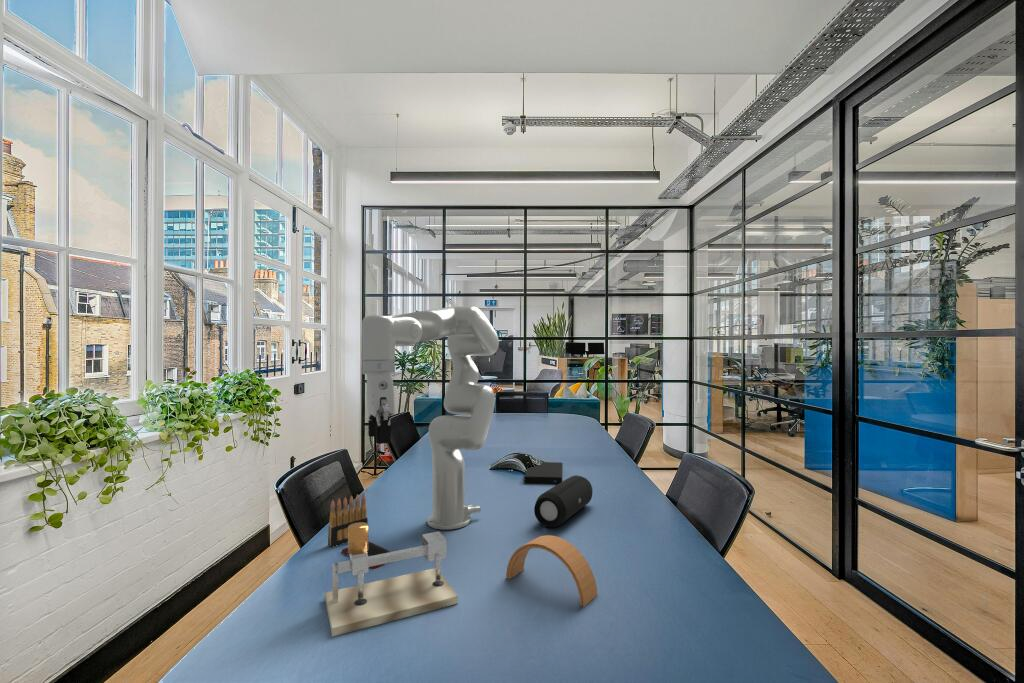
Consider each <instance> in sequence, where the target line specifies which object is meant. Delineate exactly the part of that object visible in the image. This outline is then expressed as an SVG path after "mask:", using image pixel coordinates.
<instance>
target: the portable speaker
mask: <svg viewBox="0 0 1024 683" xmlns="http://www.w3.org/2000/svg"><path fill="white" fill-rule="evenodd" d="M592 498H593V485H592V484H591V482H590V481H589V480H588V479H587V477H584V476H582V475H571V476H569V477H568V478H566V479H564V480H562V482H561V483H559V484H555V485H554V486H552V487H551V488H550V489H548V490H546V491H544V492H543V493H541V494H540V495H539V496H538V498H536V501H535V503H534V508H533V510H534V516H535V518H536V520H537V522H538V523H540V524H541V525H542V526H544V527H548V528H556V527H560V526H561V525H562V524H563V523H564V522H566V521H567V520H568V519H569V518H571V517H572V516H573V515H575V514H576V513H577V512H579V511H580V510H581V509H582V508H584V507H585V506H586V505H588V504H589V503H590V501H591V500H592Z"/></svg>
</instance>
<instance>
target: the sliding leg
mask: <svg viewBox="0 0 1024 683" xmlns="http://www.w3.org/2000/svg"><path fill="white" fill-rule="evenodd" d="M369 542H370V541H369V523H368V524H367V523H364V522H359V523H354V524H351V525H349V526H348V543H347V548H348V553H349V556H350V557H349V556H348V557H349V559H350V560H351V562H352V571H351V572H352V573H351V574H352V576H357V585H358V599H359V600H362V599H363V598H364V584H365V574H367V573H369V568H368V553H367V551H368V550H369Z"/></svg>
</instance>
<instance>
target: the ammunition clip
mask: <svg viewBox="0 0 1024 683" xmlns="http://www.w3.org/2000/svg"><path fill="white" fill-rule="evenodd" d="M366 500H367V499H366V494H365V492H362V493H361V499H360V496H359V494H356V496H355V501H354V498H353V495H350V497H349V500H347V497H346V496H345V497H344V498H343V503H342V501H341V498H338V499H337V503H336V504H335V501H334V500H333V499H332V500H331V502H330V506H329V507H330V508H329V509H330V510H329V526H328V535H327V536H328V538H327V539H328V540H327V546H328V547H330V548H334V547H333V546H335V547H337V546H336V545H338V546H341V545H343V544H342V543H345V544H347V543H346V542H348V526H349V525H351V524H354V523H359V522H364V523H367V524H368V525H369V522H368V521H369V520H368V517H367V515H368V513H367V512H368V508H367V501H366ZM348 501H349V502H348ZM360 502H361V504H360ZM340 544H341V545H340Z"/></svg>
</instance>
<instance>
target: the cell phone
mask: <svg viewBox="0 0 1024 683" xmlns="http://www.w3.org/2000/svg"><path fill="white" fill-rule="evenodd" d="M389 552H391V550H388V549H385V548H383V547H381V546H379V545H377V544H375V543H373V542H371V541H369V550H368V551H367V553H368V557H369V556H374V555H379V554H384V553H389ZM343 553H344V554H345V555H344V554H343ZM341 554H343V555H344V556H347V555H348V556H347V557H349V553H348V547H345V548H342V550H341ZM382 565H383V566H384V565H385V564H381V565H376V566H371V567H369V568H368V569H370V570H375V569H378V568H380V567H382Z"/></svg>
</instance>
